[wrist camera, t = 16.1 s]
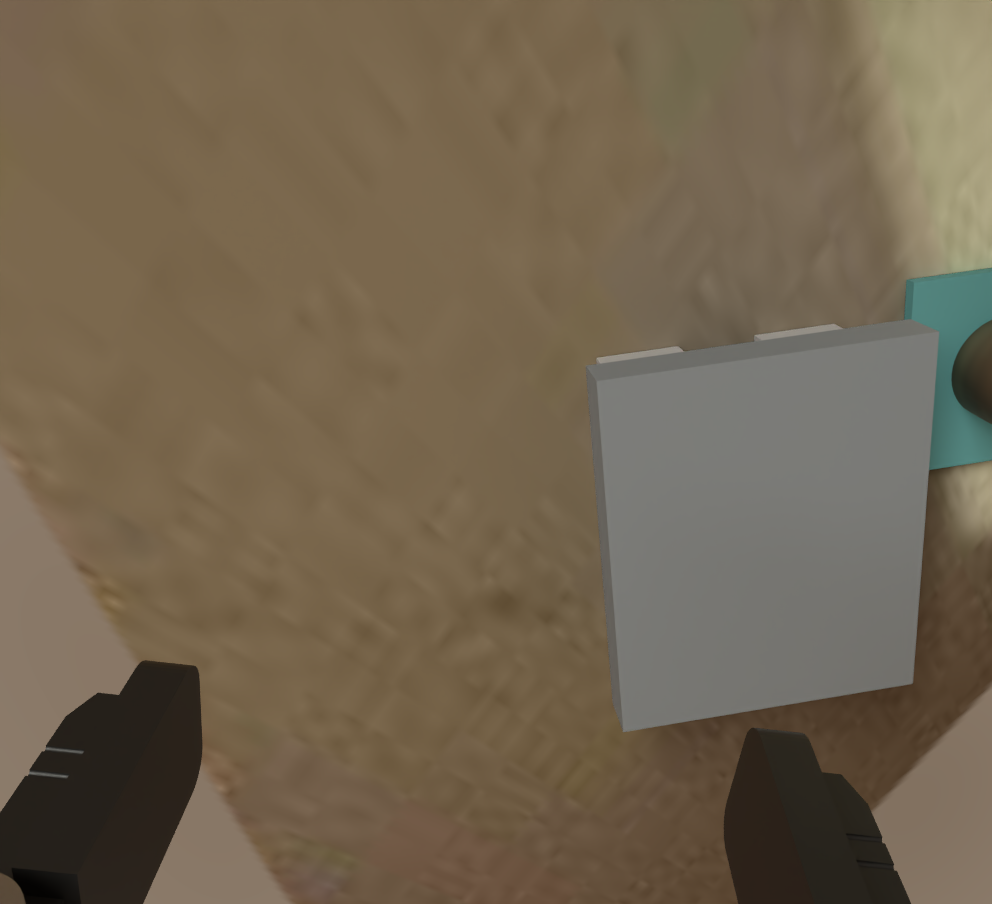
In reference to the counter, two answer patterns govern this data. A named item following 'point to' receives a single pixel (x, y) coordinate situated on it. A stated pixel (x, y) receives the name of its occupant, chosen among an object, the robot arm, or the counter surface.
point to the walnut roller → (975, 373)
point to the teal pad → (953, 359)
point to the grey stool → (762, 517)
